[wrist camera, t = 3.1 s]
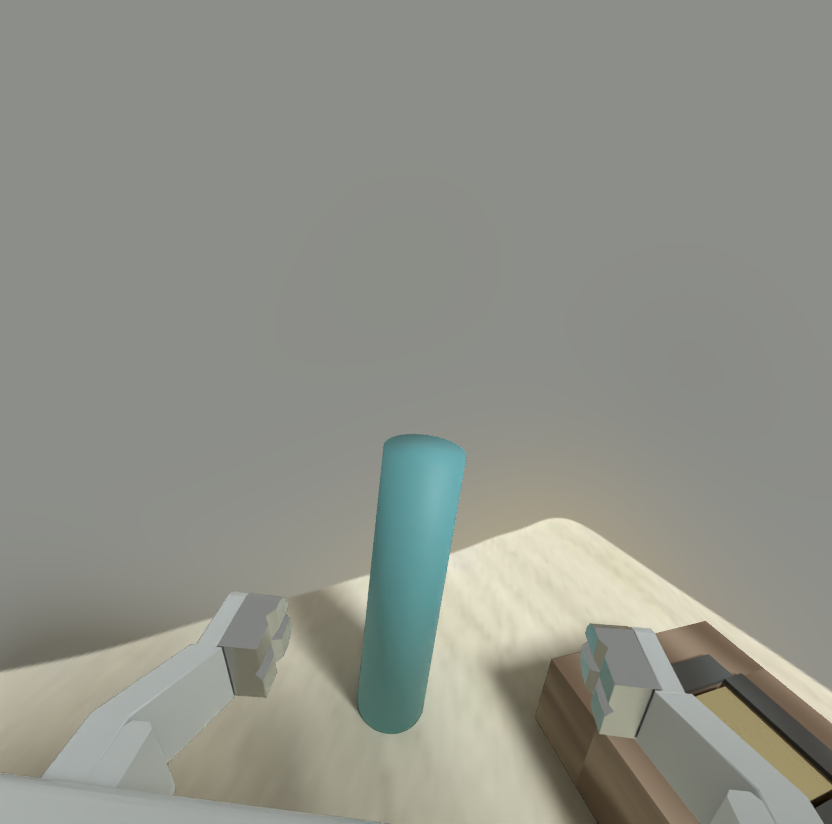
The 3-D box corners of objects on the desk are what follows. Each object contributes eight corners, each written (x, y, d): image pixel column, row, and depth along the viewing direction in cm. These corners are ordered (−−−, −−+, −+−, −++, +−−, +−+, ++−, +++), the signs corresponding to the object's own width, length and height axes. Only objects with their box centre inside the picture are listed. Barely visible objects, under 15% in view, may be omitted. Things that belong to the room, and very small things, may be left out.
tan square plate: (757, 839, 18) (765, 824, 18) (656, 720, 23) (661, 707, 23) (826, 800, 20) (834, 787, 20) (719, 698, 25) (725, 686, 25)
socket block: (766, 1107, 14) (830, 1035, 13) (534, 716, 27) (552, 655, 25) (953, 934, 19) (1016, 866, 18) (684, 671, 32) (706, 617, 30)
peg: (365, 742, 24) (397, 469, 19) (351, 675, 28) (374, 434, 23) (433, 723, 26) (481, 466, 20) (411, 662, 30) (446, 433, 24)
